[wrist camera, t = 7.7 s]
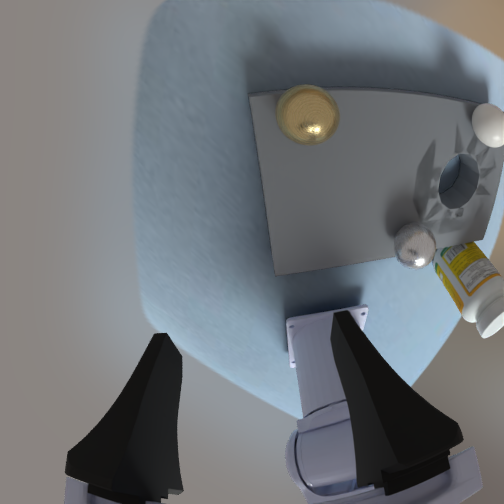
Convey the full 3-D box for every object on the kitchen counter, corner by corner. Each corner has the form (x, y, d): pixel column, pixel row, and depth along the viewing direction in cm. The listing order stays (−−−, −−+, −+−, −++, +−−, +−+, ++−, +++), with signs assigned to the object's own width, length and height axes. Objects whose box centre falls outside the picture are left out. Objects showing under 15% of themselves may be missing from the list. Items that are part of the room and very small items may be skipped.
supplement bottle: (443, 229, 20) (501, 305, 13) (475, 231, 21) (527, 297, 13) (423, 273, 24) (466, 348, 16) (455, 271, 24) (497, 337, 16)
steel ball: (411, 226, 18) (382, 225, 17) (442, 219, 15) (414, 218, 14) (414, 267, 18) (385, 271, 17) (446, 267, 15) (418, 271, 14)
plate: (468, 224, 20) (482, 239, 18) (271, 254, 21) (275, 276, 19) (488, 105, 13) (509, 114, 11) (247, 94, 14) (249, 97, 12)
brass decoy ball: (330, 134, 13) (350, 150, 11) (275, 140, 13) (284, 156, 11) (326, 81, 11) (347, 85, 9) (268, 85, 12) (275, 88, 9)
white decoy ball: (486, 140, 13) (513, 155, 10) (462, 137, 13) (491, 153, 10) (489, 102, 11) (518, 114, 8) (464, 95, 11) (495, 106, 8)
